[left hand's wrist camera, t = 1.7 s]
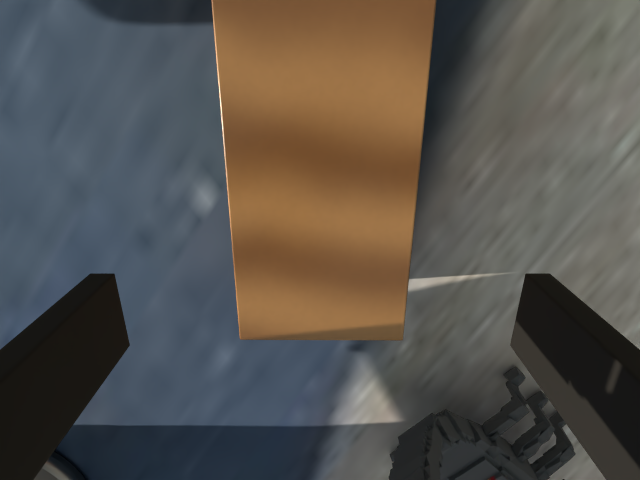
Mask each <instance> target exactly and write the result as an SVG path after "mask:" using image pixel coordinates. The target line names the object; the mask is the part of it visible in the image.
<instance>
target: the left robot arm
mask: <svg viewBox="0 0 640 480" xmlns="http://www.w3.org/2000/svg"><path fill="white" fill-rule="evenodd" d="M129 346H130V344H129V340H128V335H127V330H126V326H125V321H124V316H123V312H122V307H121V302H120V298H119V293H118V288H117V284H116V279H115V274H89V275H88V276H87V277H86V278H85V279H83V280H82V281H81V282H80V283H79V284H78V285H76V286H75V287H74V288H73V289H72V290H70V291H69V292H68V293H67V294H66V295H65V296H63V297H62V298H61V299H60V300H59V301H57V302H56V303H55V304H54V305H53V306H52V307H50V308H49V309H48V310H47V311H46V312H44V313H43V314H42V315H41V316H40V317H39V318H37V319H36V320H35V321H34V322H33V323H31V324H30V325H29V326H28V327H27V328H26V329H24V330H23V331H22V332H21V333H20V334H18V335H17V336H16V337H15V338H14V339H13V340H11V341H10V342H9V343H8V344H7V345H5V346H4V347H3V348H2V349H1V350H0V480H85V478H84V477H83V476H82V474H81V473H80V472H79V471H78V470H77V469H76V468H75V467H74V466H73V465H72V464H71V463H70V462H69V461H67V460H66V459H65V458H63V457H62V456H60V455H59V454H57V453H56V452H54V450H55V449H56V448H57V446H58V445H59V443H60V442H61V441H62V439H63V438H64V436H65V435H66V434H67V432H68V431H69V429H70V428H71V427H72V425H73V424H74V423H75V421H76V420H77V418H78V417H79V416H80V414H81V413H82V411H83V410H84V409H85V407H86V406H87V404H88V403H89V402H90V400H91V399H92V397H93V396H94V395H95V393H96V392H97V390H98V389H99V388H100V386H101V385H102V383H103V382H104V381H105V379H106V378H107V376H108V375H109V374H110V372H111V371H112V369H113V368H114V367H115V365H116V364H117V362H118V361H119V360H120V358H121V357H122V355H123V354H124V353H125V351H126V350H127V348H128V347H129ZM510 346H511V347H512V348H513V350H514V351H515V353H516V354H517V355H518V357H519V358H520V360H521V361H522V362H523V364H524V365H525V367H526V368H527V369H528V371H529V372H530V374H531V375H532V376H533V378H534V379H535V381H536V382H537V383H538V385H539V386H540V388H541V389H542V390H543V392H544V393H545V395H546V396H547V397H548V399H549V400H550V402H551V403H552V404H553V406H554V407H555V409H556V410H557V411H558V413H559V414H560V416H561V417H562V418H563V420H564V421H565V423H566V424H567V425H568V427H569V428H570V429H571V431H572V432H573V434H574V435H575V436H576V438H577V439H578V441H579V442H580V443H581V445H582V446H583V448H584V449H585V450H586V452H587V453H588V455H589V456H590V457H591V459H592V460H593V462H594V463H595V464H596V466H597V467H598V469H599V470H600V471H601V473H602V474H603V476H604V477H605V478H606V480H640V350H639V349H638V348H637V347H636V346H635V345H633V344H632V343H631V342H630V341H629V340H627V339H626V338H625V337H624V336H623V335H622V334H620V333H619V332H618V331H617V330H616V329H614V328H613V327H612V326H611V325H610V324H609V323H607V322H606V321H605V320H604V319H603V318H601V317H600V316H599V315H598V314H597V313H596V312H594V311H593V310H592V309H591V308H590V307H588V306H587V305H586V304H585V303H584V302H583V301H581V300H580V299H579V298H578V297H577V296H575V295H574V294H573V293H572V292H571V291H570V290H568V289H567V288H566V287H565V286H564V285H562V284H561V283H560V282H559V281H558V280H557V279H555V278H554V277H553V276H552V275H551V274H525V279H524V284H523V288H522V293H521V298H520V302H519V307H518V312H517V316H516V321H515V326H514V330H513V335H512V340H511V344H510Z"/></svg>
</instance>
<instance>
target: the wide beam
mask: <svg viewBox="0 0 640 480" xmlns="http://www.w3.org/2000/svg"><path fill="white" fill-rule="evenodd" d="M435 9H436V0H212V12H213V24H214V36H215V48H216V60H217V72H218V84H219V96H220V107H221V119H222V131H223V143H224V155H225V167H226V179H227V191H228V203H229V214H230V226H231V238H232V250H233V262H234V274H235V286H236V298H237V310H238V322H239V333H240V339H241V340H403V333H404V323H405V312H406V302H407V292H408V282H409V272H410V262H411V252H412V242H413V232H414V221H415V211H416V201H417V191H418V181H419V171H420V161H421V151H422V140H423V130H424V120H425V110H426V100H427V90H428V80H429V70H430V59H431V49H432V39H433V29H434V19H435Z"/></svg>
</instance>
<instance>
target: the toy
mask: <svg viewBox="0 0 640 480" xmlns="http://www.w3.org/2000/svg"><path fill="white" fill-rule="evenodd" d="M504 376H505V377H506V378H507V379H508V381H507V382H506V386H507V388H508V389H509V391H510V393H511V395H512V396H513V397H512V398H511V401H510V402H509V403H507V404H506V405H505V406H503V407H502V408H501V411H500V412H499V413H498V414H496V415H495V416H493V417H492V418H490V419H489V420H488V421H486V422H485V423H484V424H483V426H481V425H479V424H477V423H475V422H472V421H470V420H468V419H464V418H462V417H459V416H457V415H455V414H454V413H452V412H450V411H448V410H446V409H445V410H444V411H442V412H441V413H440V412H439V413H438V414H436V415H434V414H433V413H432V414H430V415H429V416H427V417H426V418H424V419H423V420H422V421H420V422H419V423H417V424H416V425H415V426H413V427H412V428H410V429H409V430H408V431H406V432H405V433H403V434H402V435H400V436H399V437H398V439H399V443H400V445H399V446H398V449H397V450H395V451H394V452H393V453H391V454H390V456H391V459H392V461H394V463H392V465H393V469H391V470H390V476H389V480H547V479H549V478H550V477H549V476H550V475H552V474H553V473H554V472H555V471H557V470H558V469H559V468H560V467H561V466H563V465H564V464H565V463H566V462H568V461H569V460H570V459H571V458H572V457H573V456H574V455H575V452H574V449H573V446H572V444H571V442H570V440H569V439H568V437H567V436H566V434H565V432H564V431H563V429H562V427H563V426H564V425H565V424H566V423H565V421H564V420H563V418H562V417H561V416H560V414H559V413H558V412H557V413H556V414H555V415H553V416H552V417H551V418H550V419H548V418H547V416H546V415H545V413H544V412H543V410H542V408H543V406H544V405H545V404H546V403H547V402H548V400H549V399H548V398H547V397H546V395H545V394H544V393H543V392H542V391H540V392H538V393H537V394H535V395H534V396H532V397H531V398H529V399H528V400H525V399H524V398H523V396H522V395H521V393H520V392H519V388H518V386H519V385H520V384H521V383H522V382H523V381H524V379H525V376H524V375H523V373H522V372H521V371H520V370H519V369H518V368H517V367H514V368H513V369H511V370H510V371H508V372H507V373H506V374H504ZM526 401H527V402H526ZM527 403H528V405H529V406H530V408H531V409H532V411H533V412H534V414H535V415H536V418H535V419H534V421H535V423H536V425H535V426H533V427H532V428H531V429H530V430H528V431H527V432H526V433H524V434H523V435H522V436H521V437H520V438H519V439H518V440H516V441H515V443H514V444H513V446H512V445H511V444H510V443H509V442H507V441H506V440H505V439H503V438H502V437H501V436H500V435H501V434H502V433H503V432H505V431H506V430H507V429H509V428H510V427H511V426H513V425H514V424H515V423H517V422H518V421H519V420H520V419H521V418H523V417H524V416H525V415H526V414H527V413H529V410H528V409H527V407H526V405H525V404H527ZM553 432H554V434H555V435H556V445H555V446H553V447H552V448H551V449H549V450H548V451H547V452H545V453H544V454H543V455H544V456H542V457H540V458H539V459H537V460H536V461H535V462H534V463H533V464H529V462H528V460H527V459H528V458H530V457H531V456H533V455H534V454H535V453H536V452H537V450H538V449H539V447H540V446H541V445H542V444H543V443H545V442H547V441H548V440H549V439H550V437H551V435H552V434H553ZM563 480H564V479H563Z"/></svg>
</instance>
